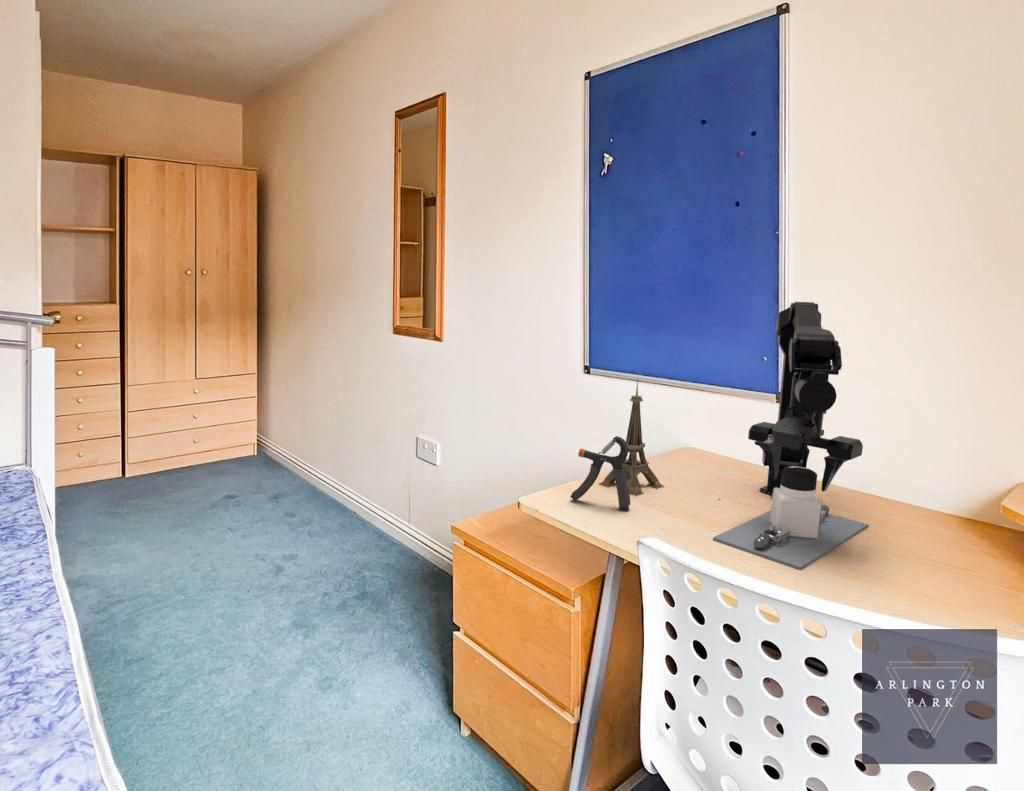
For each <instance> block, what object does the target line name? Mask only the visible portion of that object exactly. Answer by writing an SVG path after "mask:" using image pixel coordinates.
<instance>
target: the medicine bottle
mask: <svg viewBox="0 0 1024 791" xmlns="http://www.w3.org/2000/svg"><path fill="white" fill-rule="evenodd" d="M817 483H818V474H817V472H816V471H814V470H812V469H810V468H807V467H806V468H804V467H796V466H792V467H787V468H784V469H783V470H782V476H781V485H780V488H776V487H775V488H774V489H773V494H772V499H771V500H772V501H771V509H770V510H771V519H770V522H771V524H772V525H775V529H777V530H780V531H784V530H786V529H788V530H791V531H790V536H791V537H802V538H813V539H817V538H818V534H819V526H820V517H821V508H822V505H823V502H822V501H821V500H820V498H819V497H818V496H817V494H816V492H817V491H816V490H817Z"/></svg>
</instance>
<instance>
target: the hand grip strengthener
mask: <svg viewBox="0 0 1024 791" xmlns="http://www.w3.org/2000/svg"><path fill="white" fill-rule="evenodd" d="M615 443H616V444H617V445H618V446H619V450H620V451H619V453H618V455H614V456H609V455H605V454H607V452H608V451H610V449H612V447H613V446H614V445H615ZM627 453H628V454H629V452H628V447H627V444H626V439H624V438H622V437H620V436H617V435H616V436H615V437H612V439H611V440H610V441H609V442H608V443H607V444H606V445H605V446H604V447H603V448H602V449H601V451H599V452H598V453H596V452H593V451H589V450H587V449H584V448H580V449H579V450H578V453H577V454H578V457H580V458H583V459H589V460H590V461H592V463H591V464H590V468H589V472H588V475H587V476H586V478H585V479H584V480H583V482H582V483H581V484H580V485H579V487H578V488H577V489H575V490H574V491H572V492H571V495H570V498H571V499H572V501H574V502H576V501H577V500H579V499H580V498H582V497H583V496H585V494H586V493H587V492H588V491H589V490H590V489H591V487H592V486H593V485H594V483H595V482H596V480H597V478H598V477H599V474H600V472H601V470H602V467H603V465H604V463H608V464H610V465H611V466H612V470H613V472H614V476H615V483H616V485H615V486H616V491H617V492H616V493H617V500H618V509H619V511H625V512H626V511H629V509H630V505H631V495H630V494H629V482H628V480H627V476H626V472H625V467H623V466H622V460H623V459H624V458H625V457H626V455H627ZM627 456H628V455H627Z"/></svg>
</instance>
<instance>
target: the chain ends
mask: <svg viewBox="0 0 1024 791" xmlns="http://www.w3.org/2000/svg"><path fill="white" fill-rule="evenodd" d="M828 513H829V514H830V508H829V506H828V505H826V504H822V508H821V517H820V524H821V523H822V522H824V521H825V518H826V514H828ZM790 531H791V530H788V529H786V530H784V531H780V530H777V529H775V525H770V526H768V527H766V528H764V529H762V530H760V535H759V537H758V538H756V539H755V540H754V542H753V545H754V547H755V548H756V549H758V550H762V549H764V548H766V547H767V546H769V545H771V543H772V542H774V543H775V545H774V546H776V547H779V546H781V545H783V544H785V543H786V542H788V541H790Z"/></svg>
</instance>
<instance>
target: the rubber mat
mask: <svg viewBox="0 0 1024 791" xmlns="http://www.w3.org/2000/svg"><path fill="white" fill-rule="evenodd" d="M770 519H771V509H770V510H769V511H766V512H764V513H762V514H760V515H758V516H756V517H754V518H751V519H750V520H747V521H745V522H743V523H741V524H739V525H737V526H734V527H732V528H730V529H727V530H726V531H724V532H722V533H719V534H717V535H715V536H714V537H712V541H715V542H718V543H721V544H724V545H726V546H729V547H732V548H736V549H739V550H740V551H744V552H747V553H750V554H753V555H754V556H759V557H761V558H765V559H768V560H771V561H774V562H775V563H779V564H782V565H785V566H788V567H791V568H793V569H796V570H800V571H801V570H803V569H805V568H806V567H808V566H809V565H811V564H813V562H815V561H817V560H818V559H819V560H820V558H822V557H824V556H825V555H827V554H828V553H830V552H831V551H833V550H834V549H835V548H838V547H839V546H841V545H842V544H844V543H845V542H847V541H848V540H850V539H852V538H853V537H854V536H856V535H858V534H860V533H861V532H862V531H864V530H865V529H867V528H869V523H865V522H863V521H862V522H861V521H859V520H855V519H850V518H847V517H843V516H840V515H837V514H831V513H830V512H829V513H828V514H826V518H825V521H824V522H822V523H821V524H820V526H819V534H818V538H817V539H813V538H802V537H791V536H790V541H788V542H786V543H785V544H783V545H781V546H779V547H776V546H774V545H775V543H774V542H772V543H771V545H769V546H767V547H766V548H764V549H762V550H758V549H756V548H755V547H754V545H753V542H754V540H755V539H756V538H758V537H759V535H760V530H762V529H764V528H766V527H768V526H770V525H772V524H771V522H770Z"/></svg>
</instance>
